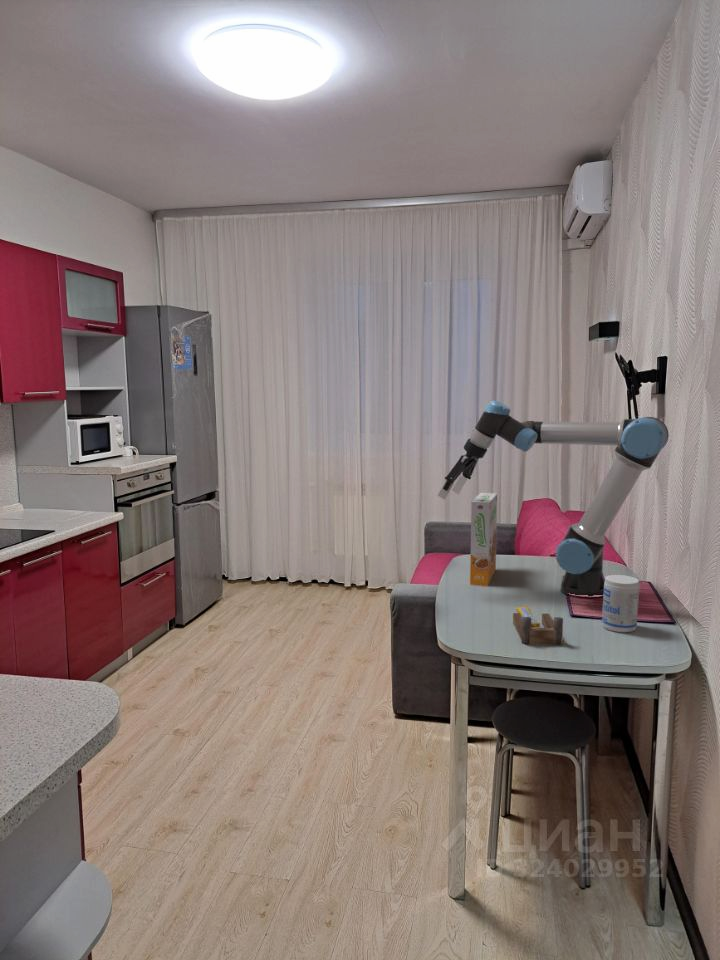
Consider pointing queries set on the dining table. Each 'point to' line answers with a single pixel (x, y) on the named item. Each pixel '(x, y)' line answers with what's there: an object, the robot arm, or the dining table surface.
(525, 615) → the candy bar
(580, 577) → the robot arm
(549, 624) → the guide channel
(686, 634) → the dining table surface
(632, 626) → the supplement tub
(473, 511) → the cereal box
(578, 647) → the dining table surface
